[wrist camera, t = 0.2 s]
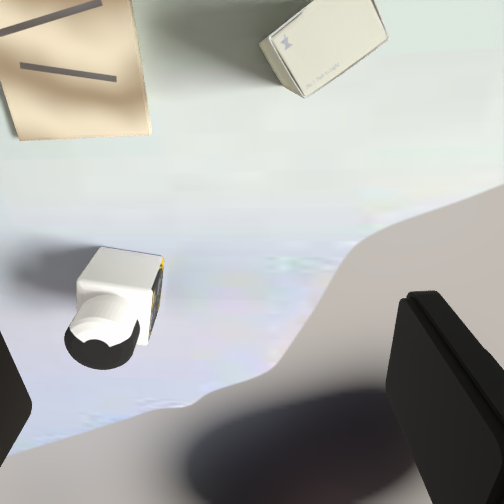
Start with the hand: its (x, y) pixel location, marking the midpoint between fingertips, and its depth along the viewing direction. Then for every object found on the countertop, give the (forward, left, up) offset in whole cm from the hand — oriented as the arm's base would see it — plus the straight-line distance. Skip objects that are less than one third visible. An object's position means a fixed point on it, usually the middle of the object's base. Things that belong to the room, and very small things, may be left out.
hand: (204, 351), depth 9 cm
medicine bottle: (+16, -13, -31) cm, 37 cm away
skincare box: (-7, +6, -31) cm, 32 cm away
